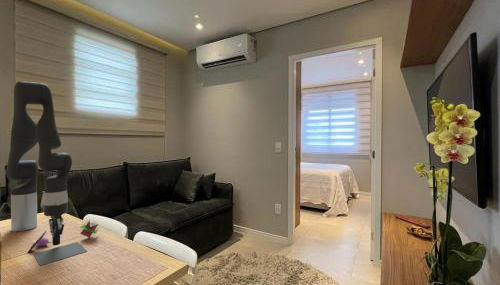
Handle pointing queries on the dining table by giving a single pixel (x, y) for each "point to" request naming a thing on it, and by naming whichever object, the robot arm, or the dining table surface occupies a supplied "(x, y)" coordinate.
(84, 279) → the dining table surface
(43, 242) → the game card
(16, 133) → the robot arm
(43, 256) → the mat
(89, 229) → the geometric puzzle
